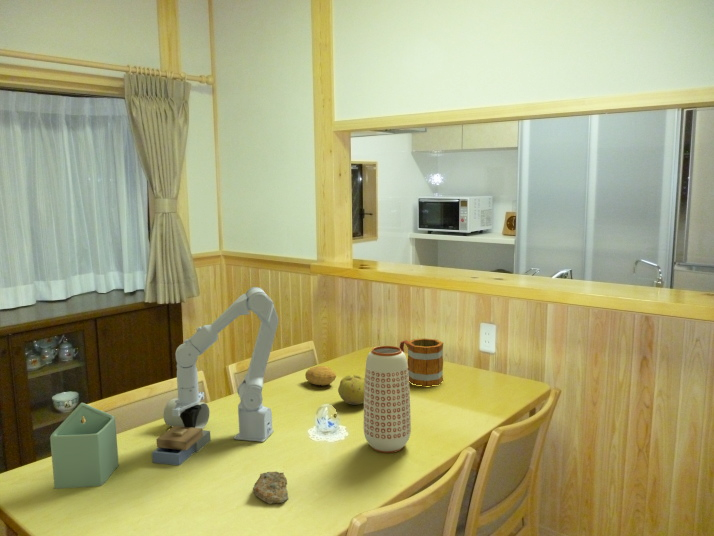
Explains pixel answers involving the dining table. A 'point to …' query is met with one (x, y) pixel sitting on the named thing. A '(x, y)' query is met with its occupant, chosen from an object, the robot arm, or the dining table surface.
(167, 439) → the lid
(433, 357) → the mug
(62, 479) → the planter
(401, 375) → the vase
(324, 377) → the potato
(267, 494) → the rock
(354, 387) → the fruit
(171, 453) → the blue open tray
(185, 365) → the robot arm
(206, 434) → the stand
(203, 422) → the mug
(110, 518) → the dining table surface
